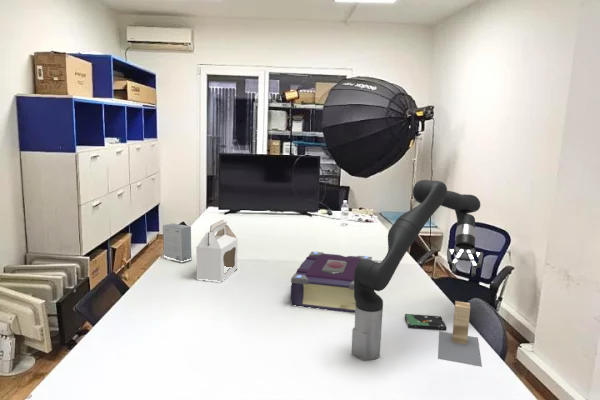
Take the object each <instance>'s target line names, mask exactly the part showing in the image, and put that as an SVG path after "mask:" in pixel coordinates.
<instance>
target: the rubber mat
mask: <svg viewBox="0 0 600 400" xmlns="http://www.w3.org/2000/svg"><path fill="white" fill-rule="evenodd" d="M438 331H439V332H438V344H437V345H438V349H437V360H442V361H448V362H453V363H459V364H465V365H471V366H475V367H481V368H482V367H483V364H482V357H481V356H482V355H481V350H480V342H479V337H477V336H471V335H468V337H467V344H461V343H455V342H452V333H453V332H446V331H441V330H438Z"/></svg>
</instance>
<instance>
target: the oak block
mask: <svg viewBox="0 0 600 400" xmlns="http://www.w3.org/2000/svg"><path fill="white" fill-rule="evenodd" d="M470 315H471V303H470V302H464V301H459V300H455V301H454V313H453V325H452V332H451V333H452V342H455V343H461V344H467V337H468V336H469V335H468V334H469V325H470Z"/></svg>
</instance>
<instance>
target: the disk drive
mask: <svg viewBox="0 0 600 400" xmlns="http://www.w3.org/2000/svg"><path fill="white" fill-rule="evenodd" d="M404 321H405V324H406V326H407V329H415V330H416V329H417V330H427V331H428V330H429V331H441V332H446V331H447V329H448V328H447V325H446V324H445V321H444V320H443V317H442V316H439V315H428V314H427V315H426V314H413V313H412V314H411V313H405V314H404Z"/></svg>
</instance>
